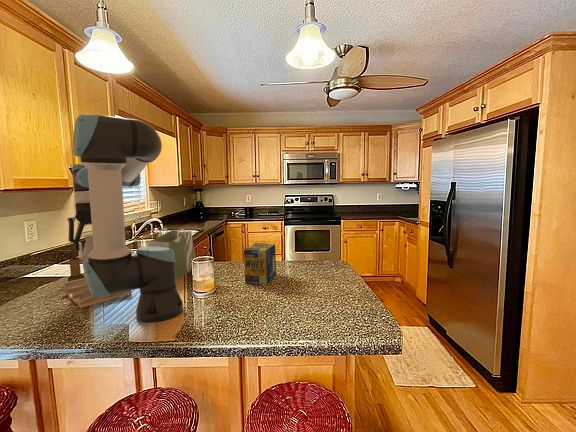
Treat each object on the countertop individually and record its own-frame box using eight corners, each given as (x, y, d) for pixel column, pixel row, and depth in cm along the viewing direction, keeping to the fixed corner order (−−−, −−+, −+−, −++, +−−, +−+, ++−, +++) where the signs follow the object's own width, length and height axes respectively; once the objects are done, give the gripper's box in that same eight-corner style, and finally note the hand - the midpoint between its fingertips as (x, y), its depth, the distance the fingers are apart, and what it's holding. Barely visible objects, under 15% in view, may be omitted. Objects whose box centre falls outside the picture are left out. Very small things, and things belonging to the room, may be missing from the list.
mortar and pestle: (82, 282, 144) (79, 245, 142) (66, 284, 141) (62, 246, 139) (86, 278, 150) (82, 242, 148) (70, 280, 147) (66, 243, 146)
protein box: (244, 283, 136) (243, 249, 134) (256, 273, 151) (255, 242, 149) (267, 285, 133) (265, 250, 132) (276, 274, 148) (275, 243, 146)
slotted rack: (131, 294, 126) (130, 281, 126) (80, 307, 113) (79, 294, 112) (112, 283, 141) (111, 272, 140) (65, 294, 128) (64, 282, 127)
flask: (91, 261, 125) (89, 237, 124) (76, 260, 126) (74, 236, 125) (105, 256, 132) (103, 234, 131) (91, 256, 133) (89, 233, 132)
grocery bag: (173, 282, 140) (170, 233, 137) (145, 282, 141) (141, 233, 139) (199, 264, 172) (197, 223, 169) (175, 264, 173) (173, 224, 170)
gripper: (109, 200, 136) (113, 251, 139) (54, 203, 122) (60, 259, 124) (115, 200, 131) (119, 253, 134) (59, 203, 117) (65, 262, 119)
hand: (91, 256), depth 129 cm, fingers closed on flask, 7 cm apart
